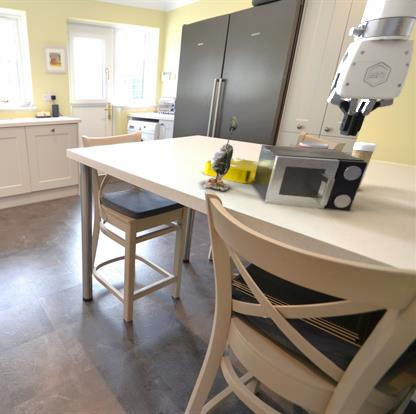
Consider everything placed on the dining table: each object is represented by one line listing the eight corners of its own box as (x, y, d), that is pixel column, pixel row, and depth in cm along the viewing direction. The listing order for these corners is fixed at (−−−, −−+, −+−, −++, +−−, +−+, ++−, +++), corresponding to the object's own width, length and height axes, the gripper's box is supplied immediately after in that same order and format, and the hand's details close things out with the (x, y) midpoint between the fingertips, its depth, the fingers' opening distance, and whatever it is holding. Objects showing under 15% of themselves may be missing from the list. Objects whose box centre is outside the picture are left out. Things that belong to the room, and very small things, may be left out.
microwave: (351, 213, 66) (370, 162, 62) (266, 204, 70) (278, 156, 66) (321, 191, 81) (335, 149, 76) (252, 185, 85) (261, 144, 80)
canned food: (288, 176, 95) (297, 143, 91) (294, 172, 100) (303, 140, 96) (315, 181, 90) (326, 146, 86) (320, 177, 95) (331, 143, 91)
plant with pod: (235, 184, 85) (249, 115, 77) (223, 194, 77) (238, 117, 69) (208, 179, 90) (219, 113, 82) (194, 188, 81) (205, 115, 74)
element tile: (201, 174, 95) (203, 160, 94) (223, 167, 105) (225, 154, 103) (246, 184, 85) (249, 169, 83) (265, 176, 94) (269, 162, 93)
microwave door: (335, 219, 62) (354, 167, 58) (272, 212, 65) (285, 162, 61) (320, 206, 69) (336, 159, 65) (264, 200, 72) (275, 155, 68)
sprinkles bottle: (335, 187, 85) (351, 141, 80) (347, 186, 86) (363, 141, 81) (351, 192, 81) (368, 144, 75) (363, 191, 82) (381, 144, 77)
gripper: (346, 30, 51) (314, 135, 58) (450, 28, 47) (403, 140, 54) (327, 38, 57) (301, 130, 64) (417, 37, 54) (379, 135, 61)
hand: (347, 134), depth 59 cm, fingers closed
